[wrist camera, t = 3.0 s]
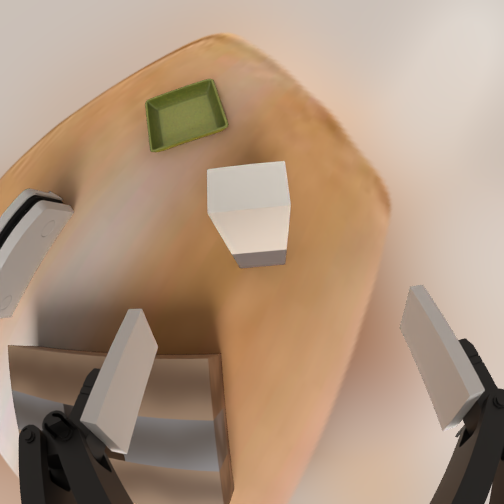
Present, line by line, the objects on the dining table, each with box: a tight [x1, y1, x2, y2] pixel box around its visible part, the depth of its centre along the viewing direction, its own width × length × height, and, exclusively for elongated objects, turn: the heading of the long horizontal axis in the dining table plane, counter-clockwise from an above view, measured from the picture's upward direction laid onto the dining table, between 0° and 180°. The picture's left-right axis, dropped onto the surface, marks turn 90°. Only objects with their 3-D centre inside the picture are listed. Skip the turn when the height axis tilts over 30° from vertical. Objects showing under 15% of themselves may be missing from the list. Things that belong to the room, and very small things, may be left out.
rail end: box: [207, 161, 291, 268], centre depth 21 cm, size 2×4×13 cm, turn 94°
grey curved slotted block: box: [0, 188, 74, 318], centre depth 25 cm, size 17×5×10 cm, turn 144°
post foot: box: [8, 345, 234, 504], centre depth 22 cm, size 14×22×5 cm, turn 94°
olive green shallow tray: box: [145, 79, 228, 152], centre depth 31 cm, size 9×9×2 cm
